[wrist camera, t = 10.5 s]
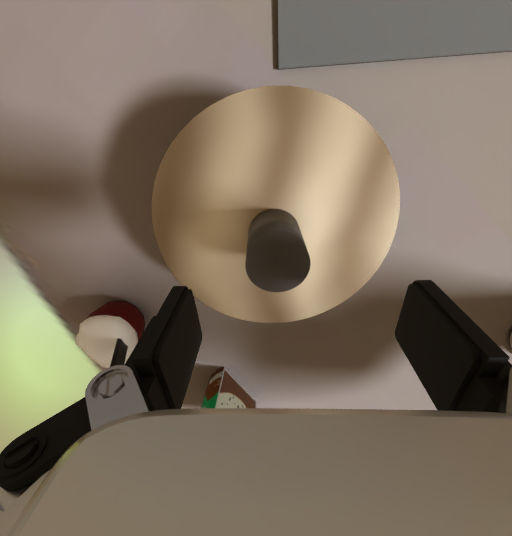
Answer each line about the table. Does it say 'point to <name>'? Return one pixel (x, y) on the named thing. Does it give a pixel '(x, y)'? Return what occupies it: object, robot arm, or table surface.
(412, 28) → the mat
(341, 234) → the lid
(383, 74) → the table surface
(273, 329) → the table surface
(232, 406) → the food container
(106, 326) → the cocoa
